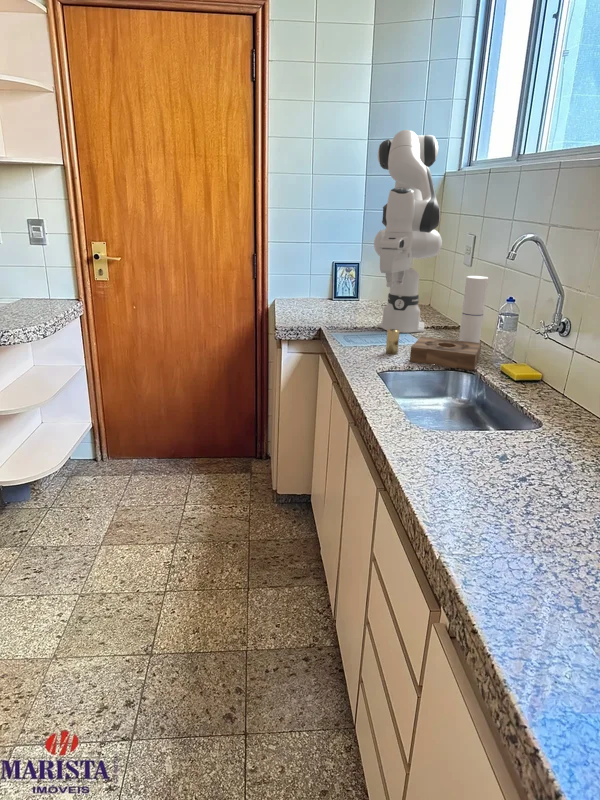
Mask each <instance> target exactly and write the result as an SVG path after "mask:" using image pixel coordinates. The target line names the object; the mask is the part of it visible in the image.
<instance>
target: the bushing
mask: <svg viewBox="0 0 600 800" xmlns="http://www.w3.org/2000/svg"><path fill="white" fill-rule="evenodd" d="M386 331H387V333H386V345H385V354H386V355H390V356H394V355H398V352H399V343H400V342H399V339H400V332H399V331H400V330H398V329H388V330H386Z"/></svg>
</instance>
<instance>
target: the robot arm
mask: <svg viewBox="0 0 600 800" xmlns="http://www.w3.org/2000/svg"><path fill="white" fill-rule="evenodd" d="M438 144H439V143H438V141H437V138H436V137H435V136H434V135H432V134H423V135H419V134H418V135H417V134H416V132H415V131H413V130H410V129H402V130H400V131H398V132H397V133H396V134H395V135H394V137H393V138H392V139H385V140H383V141H382V142H381V143H380V144H379V147H378V150H377V161H378V163H379V166H380V167H381V168H382V169H383V170H387V171H388V174H389V176H390V177H391V178H392V179H393V180H394V181H395V182H394V183H395V184H394V188H392V189H390V190H389V193H388V198H387V202H386V204H384V205H383V207H382V220H381V223H382V225H383V226H385V229H382V230H381V229H380V230H379V231H378V232H377V233H376V235H375V237H374V241H373V247H374V250H375V252H376V253H377V255H378V256H379V270H380V272H381V274H385V279H386V287H387V288H389V293H388V295H387V304H386V305H385V306H384V307H383V310H382V319H381V323H378V326H379V327H378V326H377V327H378V328H380V329H383V330H385V331H387V330H388V329H398V330H400V331H399V333H405V334H406V333H409V334H410V333H420V332H421V333H422V332H425V321H423V320H422V318H421V309H420V307H419V300H420V296H419V286H420V275H419V273H418V271H417V270H415V269H414V268H412V267H411V265H412V259H429V258H435V257H437V255H438V254H439V253H440V252H441V250H442V246H443V239H442V237H441V233H440V232H439V231H437V230H436V228H438V226H440V225H439V224H440V221H441V209H440V205H439V202H438V200H437V199H438V198H437V194H436V190H435V184H434V180H433V175H432V172H431V170H430V167H431V166H432V165H434V163H435V162H436V160H437V158H438V155H439V145H438Z"/></svg>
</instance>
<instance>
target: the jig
mask: <svg viewBox="0 0 600 800" xmlns="http://www.w3.org/2000/svg"><path fill="white" fill-rule="evenodd" d="M481 348H482V343H481V342H480V343H475V342H466V341H459V340H456V339H446V338H439V337H438V338H437V337H429V336H420V337H419V338H418V339H417V340H416V342H414V343H413V344H412V345H411V346H410V355H409V363H414V362H416V363H417V364H422V363H425V364H424V365H430V364H435V365H434V366H437V365H439V367H446V368H454V369H462V370H468V371H469V370H471V371H475V369H476V366H477V364H478V361H479V360H480V357H481Z"/></svg>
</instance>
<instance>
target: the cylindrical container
mask: <svg viewBox="0 0 600 800" xmlns="http://www.w3.org/2000/svg"><path fill="white" fill-rule="evenodd" d="M465 278H466V279H465V286H464V293H463V294H464V296H463V303H462V304H463V305H462V312H461V320H460V328H459V336H458V341H466V342H475V343H481V342H480V341H481V335H482V327H483V319H484V312H485V306H486V305H485V304H486V299H487V298H486V297H487V293H488V292H487V291H488V290H487V289H488V285H489V284H488V282H489V277H488V276H480V275H468V276H467V275H466V277H465Z"/></svg>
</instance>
